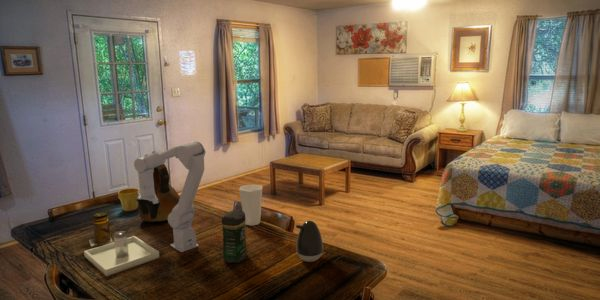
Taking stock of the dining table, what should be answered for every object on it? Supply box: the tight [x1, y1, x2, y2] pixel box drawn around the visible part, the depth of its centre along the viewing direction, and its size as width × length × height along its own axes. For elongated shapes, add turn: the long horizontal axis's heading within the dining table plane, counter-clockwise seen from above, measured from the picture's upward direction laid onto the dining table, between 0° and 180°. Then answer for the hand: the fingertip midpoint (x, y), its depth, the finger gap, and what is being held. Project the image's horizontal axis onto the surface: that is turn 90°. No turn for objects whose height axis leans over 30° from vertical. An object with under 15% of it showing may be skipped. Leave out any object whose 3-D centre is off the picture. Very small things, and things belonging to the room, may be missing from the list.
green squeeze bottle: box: [221, 209, 248, 264], centre depth 158 cm, size 10×8×19 cm
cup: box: [238, 183, 264, 226], centre depth 193 cm, size 11×10×17 cm
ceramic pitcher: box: [137, 163, 180, 223], centre depth 198 cm, size 20×20×30 cm
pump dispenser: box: [295, 220, 324, 263], centre depth 156 cm, size 10×10×15 cm
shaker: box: [113, 230, 129, 258], centre depth 161 cm, size 5×5×9 cm
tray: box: [83, 235, 160, 277], centre depth 162 cm, size 22×20×2 cm
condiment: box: [88, 212, 114, 247], centre depth 176 cm, size 7×8×12 cm
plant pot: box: [117, 187, 140, 212], centre depth 216 cm, size 10×10×10 cm
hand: (149, 216), depth 176 cm, fingers open, 7 cm apart
